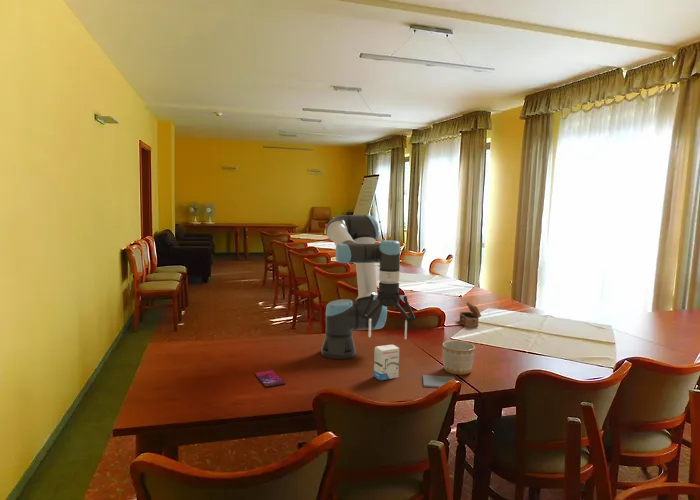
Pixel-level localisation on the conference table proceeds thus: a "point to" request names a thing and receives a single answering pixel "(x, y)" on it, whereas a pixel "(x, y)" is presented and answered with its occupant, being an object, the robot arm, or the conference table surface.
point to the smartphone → (269, 379)
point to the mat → (435, 380)
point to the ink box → (386, 362)
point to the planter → (458, 357)
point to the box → (470, 316)
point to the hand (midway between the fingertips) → (387, 337)
